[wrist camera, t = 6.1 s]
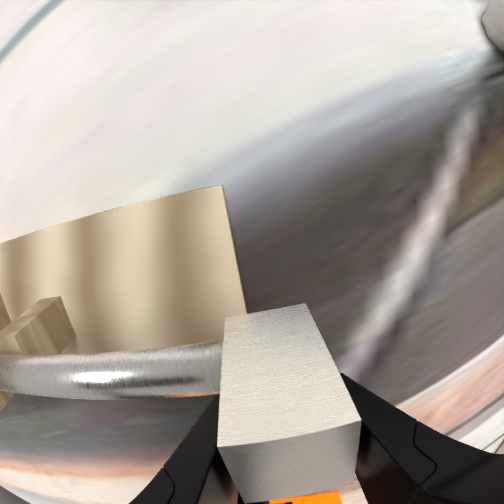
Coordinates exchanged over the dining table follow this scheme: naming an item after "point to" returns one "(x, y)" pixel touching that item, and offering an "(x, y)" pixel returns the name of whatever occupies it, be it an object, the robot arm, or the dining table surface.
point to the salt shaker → (495, 22)
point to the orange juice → (312, 499)
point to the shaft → (231, 397)
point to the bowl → (501, 449)
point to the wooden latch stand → (122, 280)
